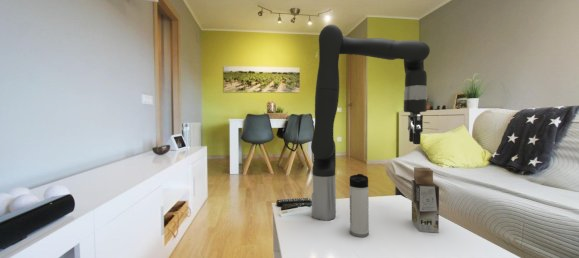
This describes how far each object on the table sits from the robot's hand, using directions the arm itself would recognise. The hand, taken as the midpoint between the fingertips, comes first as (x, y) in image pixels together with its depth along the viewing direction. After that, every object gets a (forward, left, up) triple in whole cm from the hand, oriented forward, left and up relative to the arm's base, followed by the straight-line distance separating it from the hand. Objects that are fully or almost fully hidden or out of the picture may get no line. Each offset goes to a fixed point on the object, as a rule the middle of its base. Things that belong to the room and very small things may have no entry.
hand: (414, 142), depth 87 cm
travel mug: (-20, -13, -31) cm, 39 cm away
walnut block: (+2, -2, -14) cm, 15 cm away
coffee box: (+3, -2, -31) cm, 31 cm away
